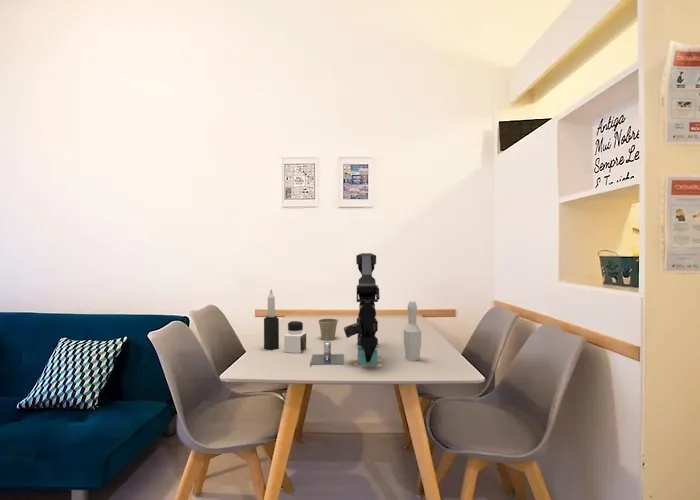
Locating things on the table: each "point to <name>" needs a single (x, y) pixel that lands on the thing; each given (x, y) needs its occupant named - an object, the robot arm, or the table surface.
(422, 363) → the table surface
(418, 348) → the grey bottle
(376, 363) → the collar
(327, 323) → the flower pot
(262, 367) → the table surface
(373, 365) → the stand
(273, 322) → the black and white bottle
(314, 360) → the silver peg base
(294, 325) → the medicine bottle
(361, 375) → the table surface
